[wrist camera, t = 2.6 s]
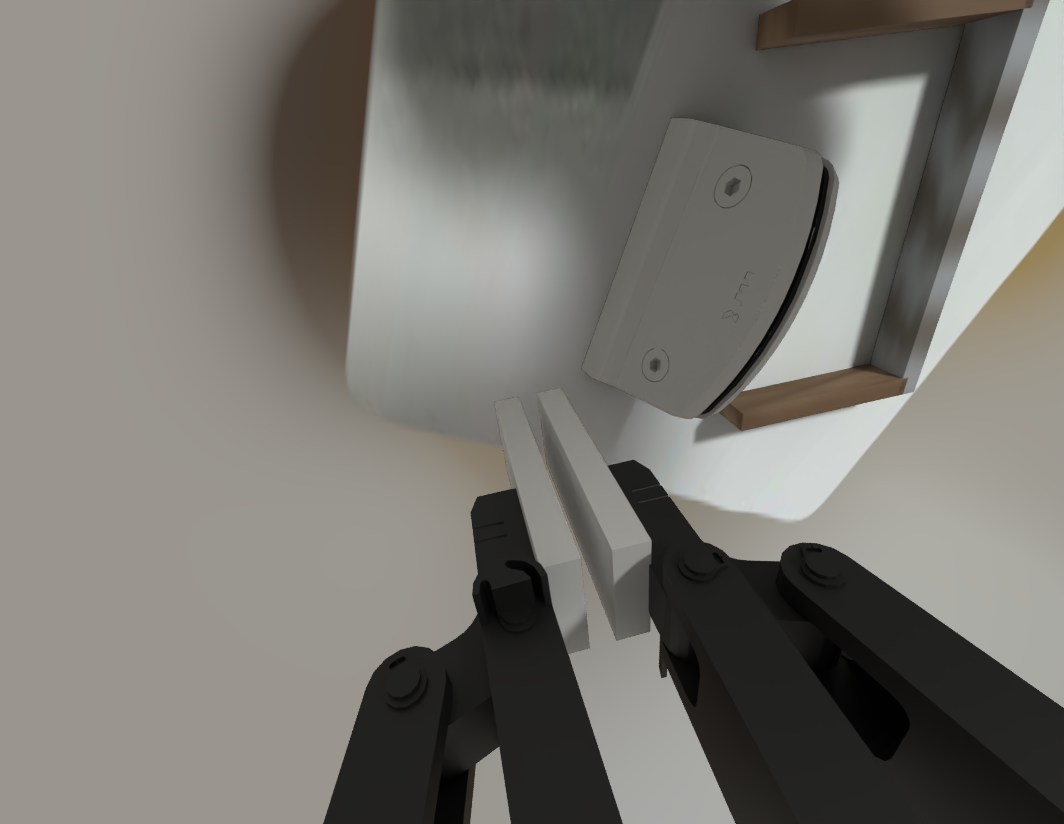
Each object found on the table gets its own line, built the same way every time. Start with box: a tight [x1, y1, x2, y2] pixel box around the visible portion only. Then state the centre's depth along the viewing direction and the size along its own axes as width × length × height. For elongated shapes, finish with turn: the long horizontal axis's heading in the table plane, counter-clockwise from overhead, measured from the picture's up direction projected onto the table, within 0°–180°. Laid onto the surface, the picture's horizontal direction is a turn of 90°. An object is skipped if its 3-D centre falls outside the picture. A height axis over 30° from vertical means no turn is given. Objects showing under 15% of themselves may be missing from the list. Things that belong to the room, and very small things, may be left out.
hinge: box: [581, 118, 839, 419], centre depth 27 cm, size 17×5×10 cm, turn 163°
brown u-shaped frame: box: [719, 0, 1049, 431], centre depth 30 cm, size 25×15×3 cm, turn 7°
